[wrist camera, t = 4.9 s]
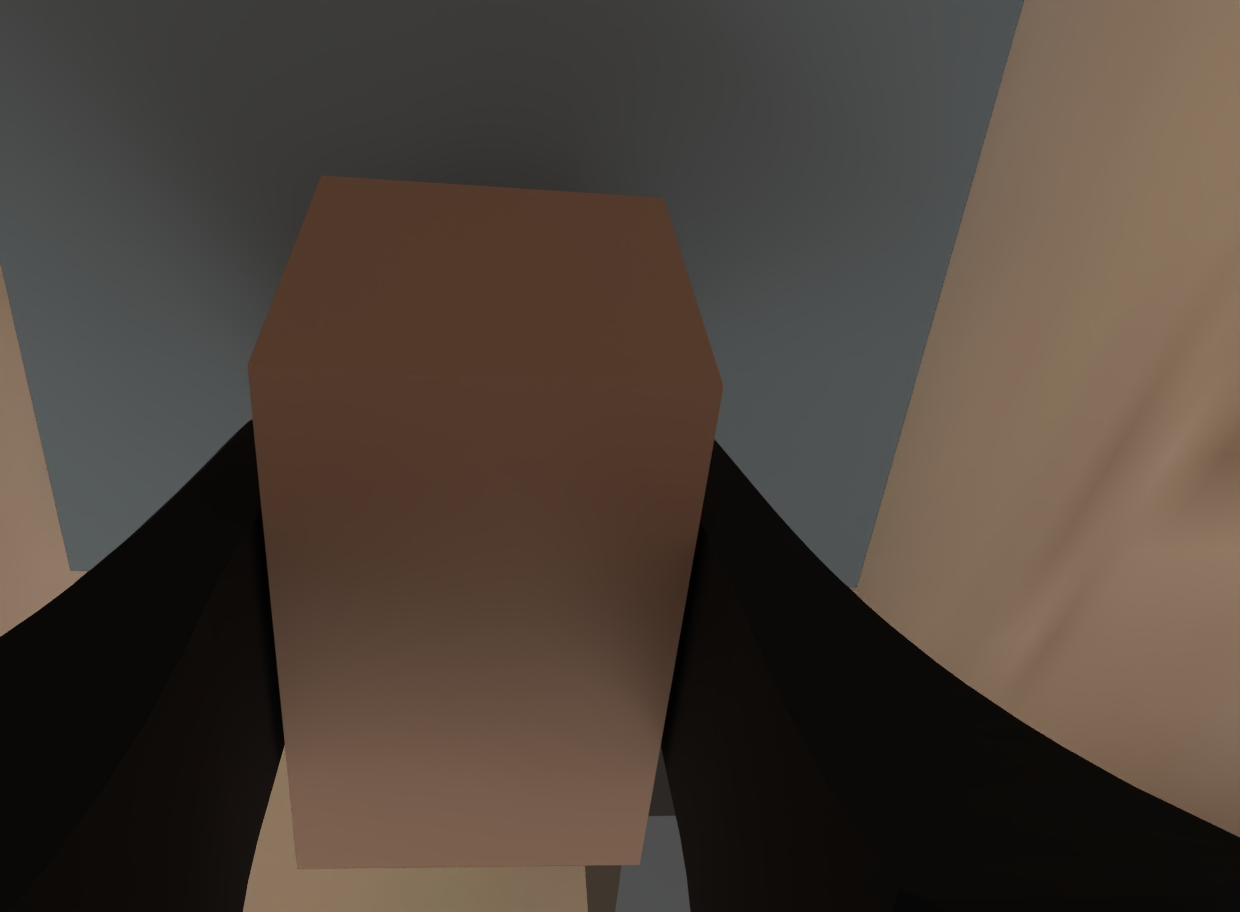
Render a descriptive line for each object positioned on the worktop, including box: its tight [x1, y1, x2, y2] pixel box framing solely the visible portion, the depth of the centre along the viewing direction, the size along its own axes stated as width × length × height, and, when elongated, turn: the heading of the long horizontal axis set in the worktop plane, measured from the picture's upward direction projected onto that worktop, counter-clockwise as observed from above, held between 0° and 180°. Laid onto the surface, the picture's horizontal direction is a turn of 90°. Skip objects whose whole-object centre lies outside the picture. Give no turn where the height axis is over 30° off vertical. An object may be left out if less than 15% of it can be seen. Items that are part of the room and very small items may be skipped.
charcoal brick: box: [585, 746, 690, 912], centre depth 19 cm, size 4×6×4 cm, turn 175°
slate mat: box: [0, 0, 1024, 587], centre depth 15 cm, size 12×9×1 cm
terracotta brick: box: [247, 176, 724, 869], centre depth 12 cm, size 4×6×4 cm, turn 174°
